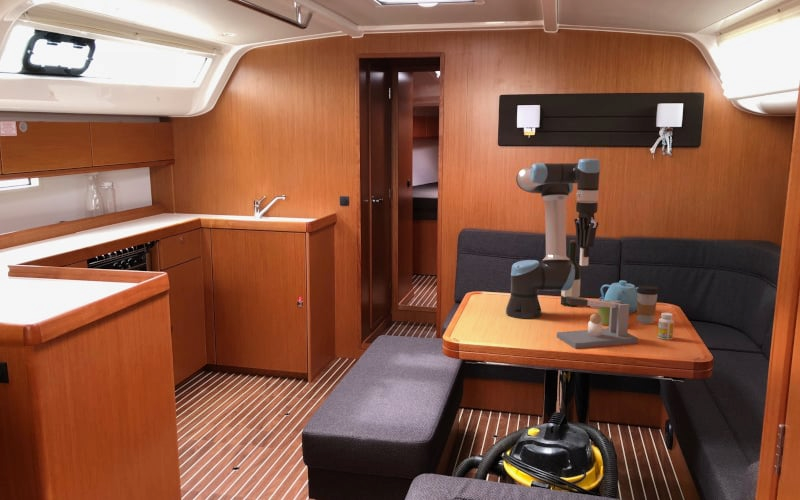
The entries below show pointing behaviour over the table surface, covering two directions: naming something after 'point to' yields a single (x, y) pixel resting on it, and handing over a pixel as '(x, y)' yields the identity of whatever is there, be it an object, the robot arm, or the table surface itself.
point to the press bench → (602, 331)
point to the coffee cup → (646, 303)
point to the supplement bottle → (665, 326)
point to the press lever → (590, 302)
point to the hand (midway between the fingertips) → (583, 265)
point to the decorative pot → (621, 294)
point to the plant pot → (604, 315)
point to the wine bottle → (575, 288)
